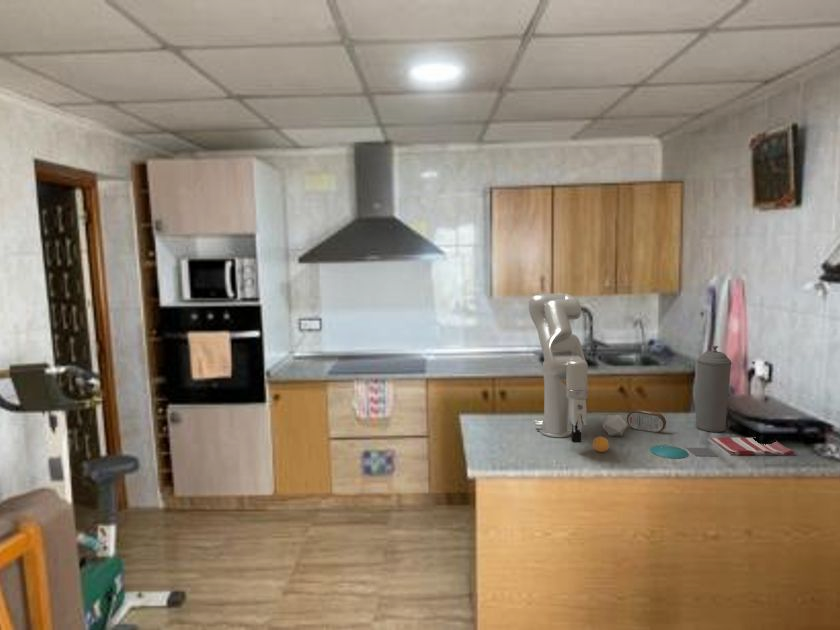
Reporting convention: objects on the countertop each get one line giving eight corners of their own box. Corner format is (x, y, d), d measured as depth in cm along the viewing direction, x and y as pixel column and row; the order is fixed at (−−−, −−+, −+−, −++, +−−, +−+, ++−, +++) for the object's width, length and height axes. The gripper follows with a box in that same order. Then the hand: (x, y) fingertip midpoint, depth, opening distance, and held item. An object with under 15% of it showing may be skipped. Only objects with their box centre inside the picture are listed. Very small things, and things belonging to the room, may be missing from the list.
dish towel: (795, 457, 201) (796, 450, 201) (730, 457, 201) (731, 450, 201) (767, 441, 218) (768, 434, 217) (707, 441, 218) (707, 434, 218)
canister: (694, 431, 228) (698, 347, 223) (692, 422, 239) (696, 342, 235) (729, 435, 223) (734, 349, 219) (725, 425, 235) (730, 344, 230)
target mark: (648, 455, 203) (648, 454, 203) (651, 443, 214) (651, 443, 214) (688, 460, 197) (688, 460, 197) (688, 448, 209) (688, 448, 209)
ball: (591, 452, 206) (592, 438, 205) (594, 448, 211) (594, 433, 210) (607, 455, 203) (607, 440, 202) (609, 450, 208) (610, 435, 207)
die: (622, 441, 220) (633, 419, 222) (603, 429, 221) (613, 408, 223) (615, 441, 228) (625, 420, 230) (596, 430, 229) (607, 410, 231)
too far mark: (695, 456, 201) (695, 455, 201) (686, 448, 209) (686, 447, 209) (718, 456, 201) (718, 455, 201) (708, 448, 209) (708, 447, 209)
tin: (665, 432, 227) (666, 412, 226) (664, 435, 224) (665, 414, 223) (627, 426, 235) (628, 407, 234) (625, 428, 232) (626, 409, 231)
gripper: (592, 398, 197) (591, 448, 198) (582, 388, 212) (581, 435, 213) (571, 398, 197) (570, 448, 199) (562, 388, 212) (561, 435, 213)
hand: (576, 441), depth 206 cm, fingers closed
